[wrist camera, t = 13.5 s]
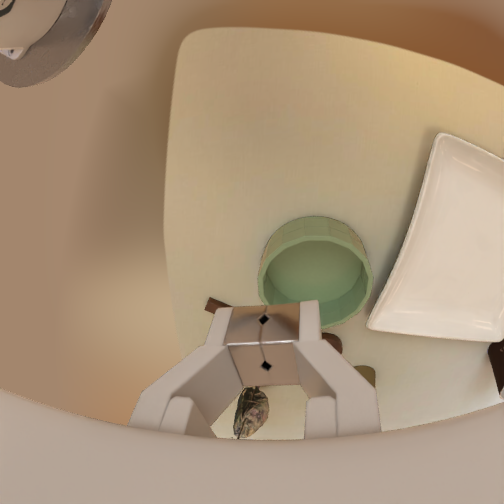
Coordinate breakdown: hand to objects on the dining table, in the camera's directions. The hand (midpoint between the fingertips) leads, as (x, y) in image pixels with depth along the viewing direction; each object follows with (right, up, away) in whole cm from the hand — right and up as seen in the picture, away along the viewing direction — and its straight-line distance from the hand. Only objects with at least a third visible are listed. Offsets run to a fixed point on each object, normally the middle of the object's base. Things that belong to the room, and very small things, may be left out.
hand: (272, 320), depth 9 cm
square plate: (+30, +2, +26) cm, 40 cm away
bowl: (+7, +1, +30) cm, 31 cm away
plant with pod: (+1, -19, +43) cm, 47 cm away
